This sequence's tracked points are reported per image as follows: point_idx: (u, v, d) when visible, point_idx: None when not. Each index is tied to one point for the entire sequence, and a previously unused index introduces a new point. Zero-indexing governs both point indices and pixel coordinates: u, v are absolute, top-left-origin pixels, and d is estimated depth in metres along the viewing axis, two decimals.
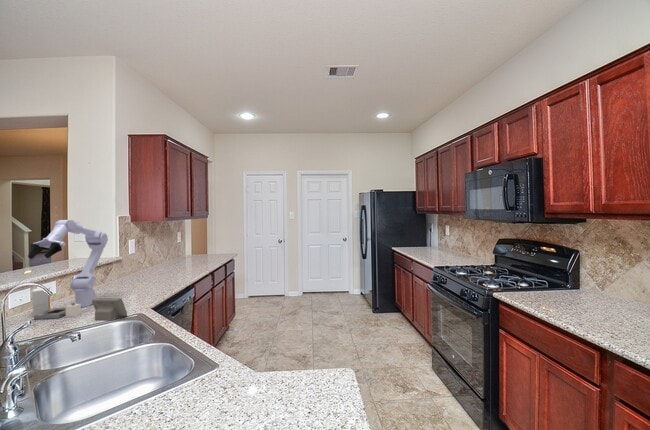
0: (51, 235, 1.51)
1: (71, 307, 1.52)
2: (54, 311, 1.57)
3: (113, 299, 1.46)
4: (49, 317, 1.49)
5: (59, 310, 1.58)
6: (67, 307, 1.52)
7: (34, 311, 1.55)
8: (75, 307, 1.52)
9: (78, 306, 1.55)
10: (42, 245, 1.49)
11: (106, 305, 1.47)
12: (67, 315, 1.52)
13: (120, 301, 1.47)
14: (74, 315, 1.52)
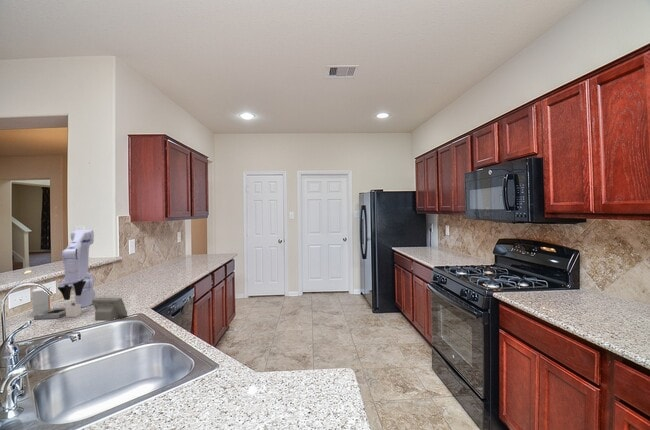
0: (78, 273, 1.54)
1: (71, 307, 1.52)
2: (54, 311, 1.57)
3: (113, 299, 1.46)
4: (49, 317, 1.49)
5: (59, 310, 1.58)
6: (67, 307, 1.52)
7: (34, 311, 1.55)
8: (75, 307, 1.52)
9: (78, 306, 1.55)
10: (69, 284, 1.51)
11: (106, 305, 1.47)
12: (67, 315, 1.52)
13: (120, 301, 1.47)
14: (74, 315, 1.52)
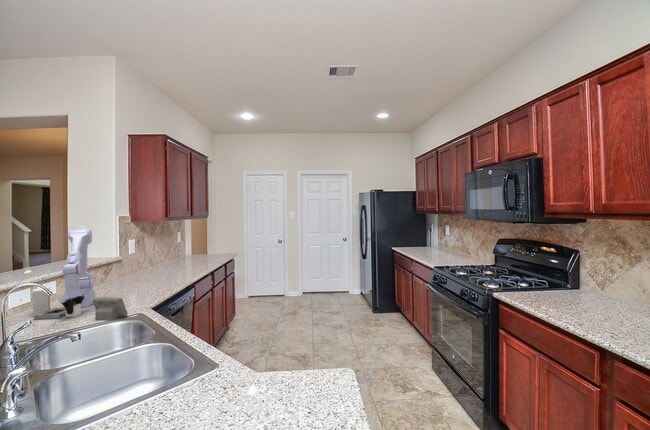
0: (78, 288, 1.54)
1: None
2: (54, 311, 1.57)
3: (113, 299, 1.46)
4: (49, 317, 1.49)
5: (59, 310, 1.58)
6: None
7: (34, 311, 1.55)
8: (75, 307, 1.52)
9: (78, 306, 1.55)
10: None
11: (106, 305, 1.47)
12: (67, 315, 1.52)
13: (120, 301, 1.47)
14: (74, 315, 1.52)
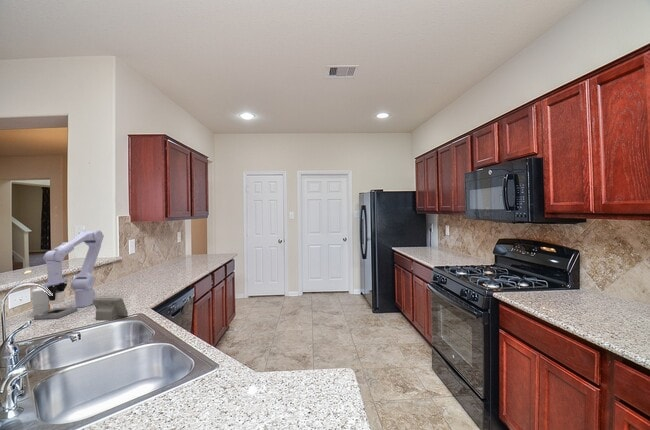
0: (61, 275, 1.56)
1: None
2: (54, 311, 1.57)
3: (114, 299, 1.46)
4: (49, 317, 1.49)
5: (59, 310, 1.58)
6: None
7: (34, 311, 1.55)
8: (58, 294, 1.54)
9: (62, 294, 1.56)
10: (51, 285, 1.53)
11: (107, 305, 1.47)
12: (50, 302, 1.53)
13: (121, 301, 1.47)
14: (57, 302, 1.53)
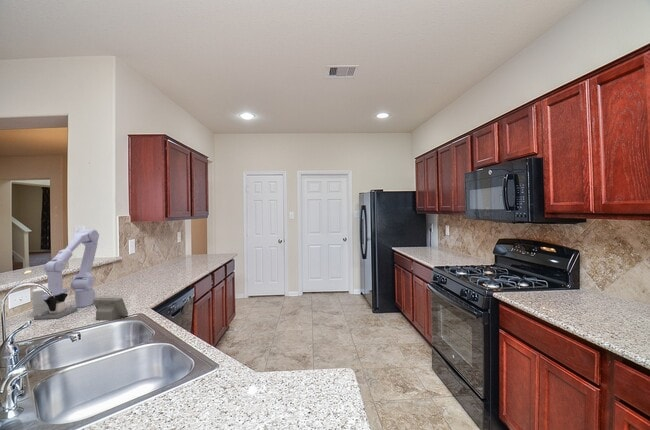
0: (61, 286, 1.56)
1: None
2: None
3: (114, 299, 1.46)
4: (49, 317, 1.49)
5: None
6: None
7: (34, 311, 1.55)
8: (59, 305, 1.54)
9: (62, 304, 1.56)
10: (52, 296, 1.53)
11: (107, 305, 1.47)
12: None
13: (121, 301, 1.47)
14: None
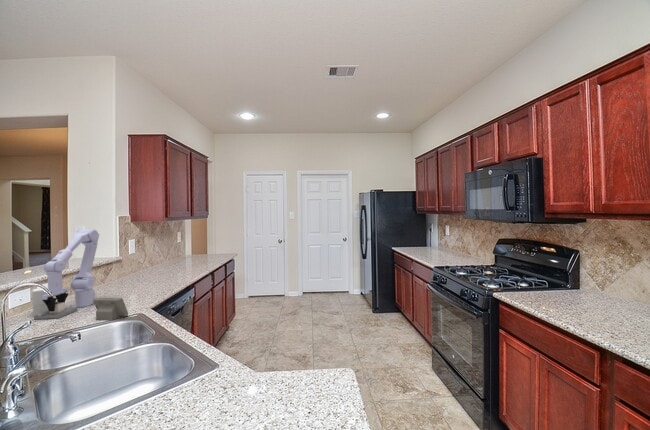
0: (61, 286, 1.56)
1: None
2: None
3: (114, 299, 1.46)
4: (49, 317, 1.49)
5: None
6: None
7: (34, 311, 1.55)
8: (58, 306, 1.54)
9: (62, 305, 1.56)
10: (52, 296, 1.53)
11: (107, 305, 1.47)
12: None
13: (121, 301, 1.47)
14: None
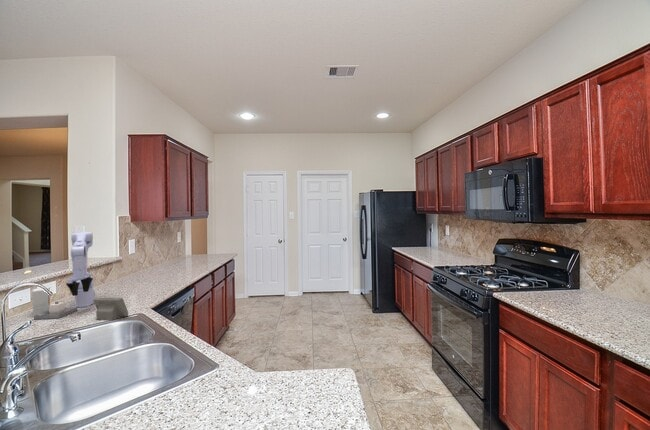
0: (85, 270, 1.60)
1: (54, 306, 1.53)
2: None
3: (114, 299, 1.46)
4: (49, 317, 1.49)
5: None
6: (50, 306, 1.53)
7: (34, 311, 1.55)
8: (58, 306, 1.54)
9: (62, 305, 1.56)
10: (77, 280, 1.57)
11: (107, 305, 1.47)
12: None
13: (121, 301, 1.47)
14: None
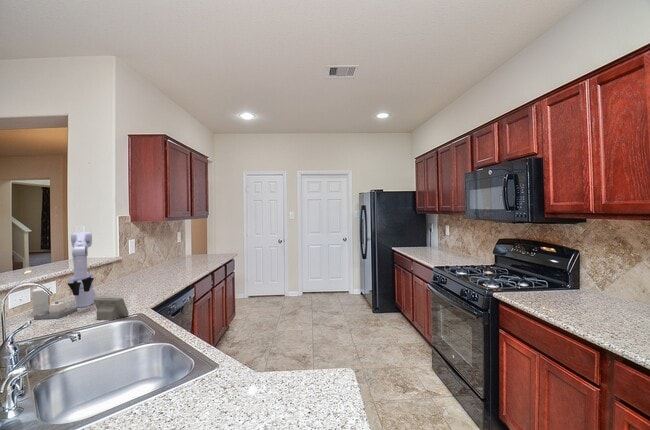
0: (86, 270, 1.60)
1: (54, 306, 1.53)
2: None
3: (114, 299, 1.46)
4: (49, 317, 1.49)
5: None
6: (50, 306, 1.53)
7: (34, 311, 1.55)
8: (58, 306, 1.54)
9: (62, 305, 1.56)
10: (78, 280, 1.57)
11: (108, 305, 1.48)
12: None
13: (121, 301, 1.47)
14: None
